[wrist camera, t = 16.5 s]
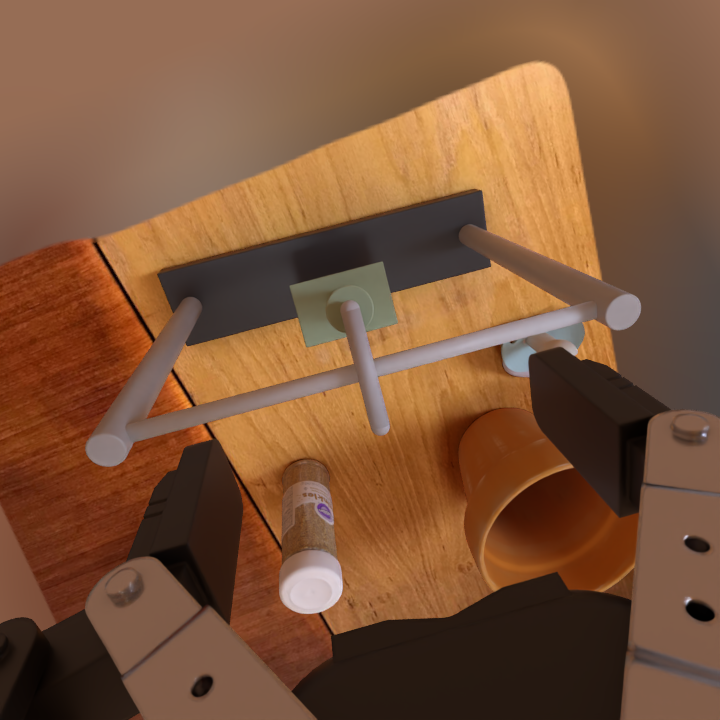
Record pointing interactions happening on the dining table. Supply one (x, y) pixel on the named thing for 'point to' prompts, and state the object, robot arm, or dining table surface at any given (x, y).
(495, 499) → the flower pot
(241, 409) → the rack
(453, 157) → the dining table surface
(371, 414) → the peg on square base
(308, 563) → the sprinkles bottle
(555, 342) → the pacifier
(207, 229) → the dining table surface
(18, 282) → the dining table surface
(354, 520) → the dining table surface
